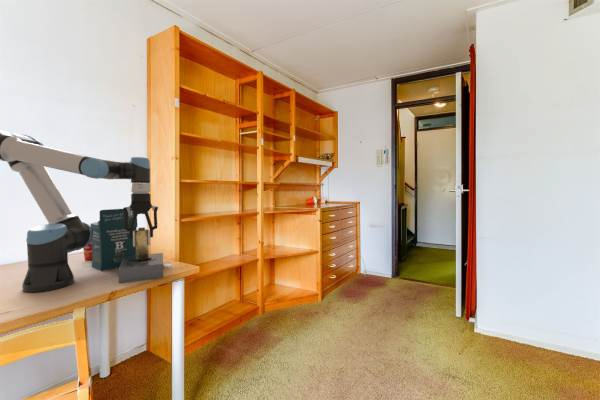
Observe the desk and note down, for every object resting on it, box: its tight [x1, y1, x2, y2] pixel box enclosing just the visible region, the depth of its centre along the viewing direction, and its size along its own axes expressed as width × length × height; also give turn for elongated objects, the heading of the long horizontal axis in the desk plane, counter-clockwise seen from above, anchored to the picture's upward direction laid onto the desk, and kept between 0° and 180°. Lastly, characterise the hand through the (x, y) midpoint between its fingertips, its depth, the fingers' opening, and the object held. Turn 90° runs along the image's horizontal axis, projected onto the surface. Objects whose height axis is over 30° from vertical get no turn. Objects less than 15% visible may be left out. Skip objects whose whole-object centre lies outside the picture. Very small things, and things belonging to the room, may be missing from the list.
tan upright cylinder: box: [135, 227, 150, 258], centre depth 128 cm, size 5×5×13 cm
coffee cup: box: [82, 241, 92, 262], centre depth 153 cm, size 8×8×15 cm
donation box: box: [89, 208, 138, 272], centre depth 142 cm, size 16×16×28 cm
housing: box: [118, 252, 164, 284], centre depth 129 cm, size 16×22×6 cm
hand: (141, 245), depth 128 cm, fingers closed on tan upright cylinder, 5 cm apart
